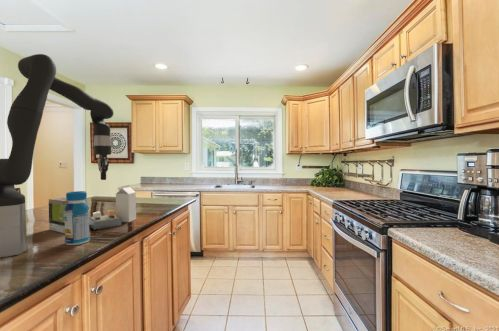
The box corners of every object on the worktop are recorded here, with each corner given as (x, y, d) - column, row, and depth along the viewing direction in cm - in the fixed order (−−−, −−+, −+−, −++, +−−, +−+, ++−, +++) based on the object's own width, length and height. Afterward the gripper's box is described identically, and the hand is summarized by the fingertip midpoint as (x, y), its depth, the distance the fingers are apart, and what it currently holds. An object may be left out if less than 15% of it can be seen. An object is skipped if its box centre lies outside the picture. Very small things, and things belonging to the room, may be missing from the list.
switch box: (121, 225, 131) (121, 216, 131) (94, 229, 123) (93, 220, 123) (113, 220, 142) (113, 212, 141) (87, 224, 134) (87, 216, 133)
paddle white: (101, 216, 130) (100, 212, 130) (94, 217, 128) (94, 213, 128) (99, 215, 132) (99, 211, 132) (93, 216, 131) (92, 212, 130)
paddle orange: (115, 215, 134) (115, 211, 134) (108, 215, 132) (109, 211, 132) (113, 214, 137) (113, 210, 137) (107, 214, 135) (107, 210, 135)
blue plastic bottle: (84, 244, 101) (83, 193, 101) (60, 246, 99) (59, 193, 99) (93, 238, 109) (92, 190, 109) (70, 239, 108) (69, 191, 107)
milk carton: (136, 219, 144) (135, 184, 144) (129, 222, 137) (128, 186, 137) (124, 219, 145) (123, 184, 145) (116, 222, 138) (115, 186, 138)
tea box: (87, 229, 125) (86, 198, 125) (63, 234, 116) (62, 201, 116) (71, 225, 133) (71, 196, 133) (48, 229, 124) (47, 198, 124)
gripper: (91, 145, 134) (92, 179, 134) (97, 144, 124) (98, 181, 124) (107, 145, 139) (108, 178, 139) (114, 144, 129) (115, 180, 129)
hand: (103, 179), depth 132 cm, fingers closed
